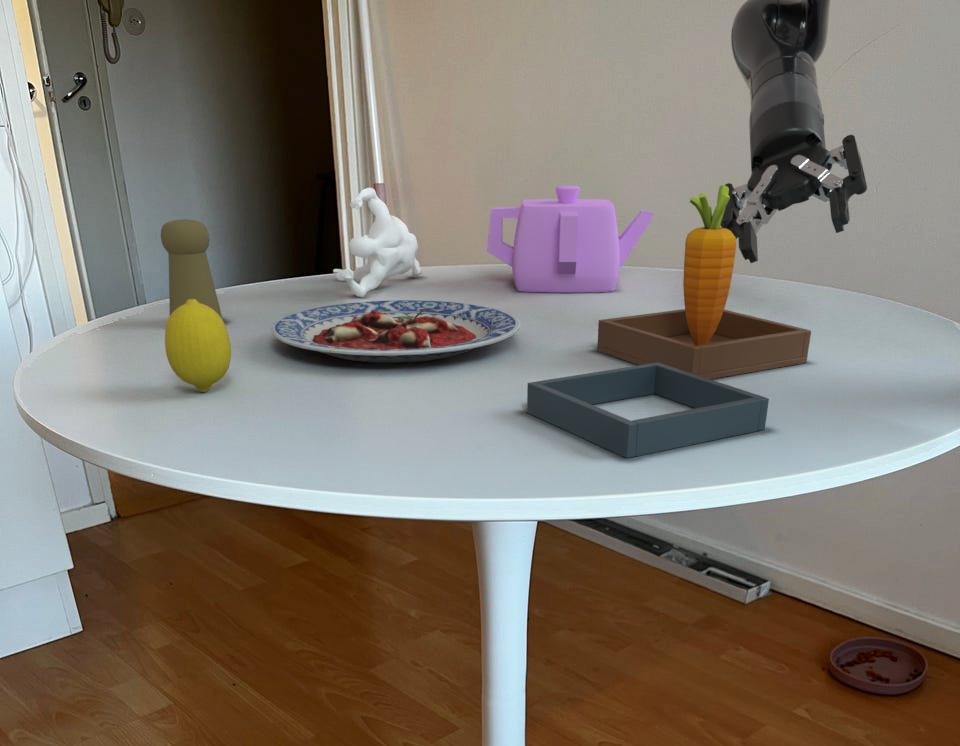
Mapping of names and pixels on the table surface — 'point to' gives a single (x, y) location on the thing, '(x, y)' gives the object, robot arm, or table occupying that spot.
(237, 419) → the table surface
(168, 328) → the lemon
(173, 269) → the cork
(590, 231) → the teakettle
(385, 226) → the person figurine
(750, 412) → the dark blue-gray square frame
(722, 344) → the walnut tray
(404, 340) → the ceramic plate
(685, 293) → the carrot
